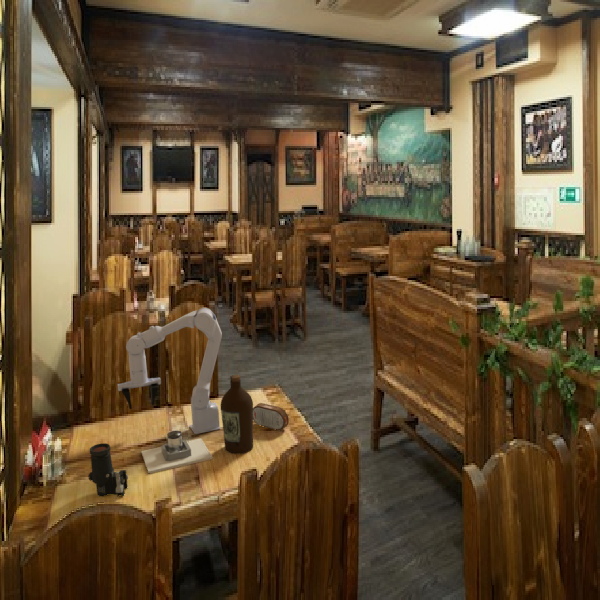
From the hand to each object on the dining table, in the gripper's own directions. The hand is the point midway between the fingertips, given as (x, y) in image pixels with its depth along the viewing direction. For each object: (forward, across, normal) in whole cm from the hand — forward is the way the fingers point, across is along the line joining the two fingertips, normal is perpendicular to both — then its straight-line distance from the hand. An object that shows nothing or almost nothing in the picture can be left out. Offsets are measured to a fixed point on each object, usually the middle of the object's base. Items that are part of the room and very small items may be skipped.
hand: (141, 406), depth 186 cm
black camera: (+11, +15, +36) cm, 40 cm away
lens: (+10, -7, +23) cm, 26 cm away
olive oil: (+11, -27, +27) cm, 40 cm away
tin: (+11, -42, +17) cm, 47 cm away
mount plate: (+10, -7, +23) cm, 26 cm away
